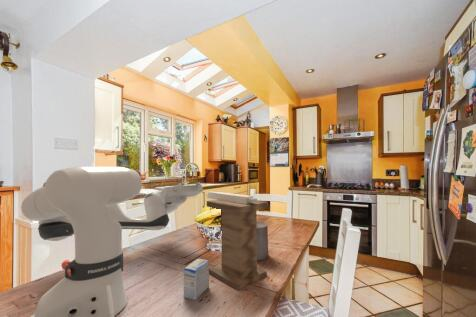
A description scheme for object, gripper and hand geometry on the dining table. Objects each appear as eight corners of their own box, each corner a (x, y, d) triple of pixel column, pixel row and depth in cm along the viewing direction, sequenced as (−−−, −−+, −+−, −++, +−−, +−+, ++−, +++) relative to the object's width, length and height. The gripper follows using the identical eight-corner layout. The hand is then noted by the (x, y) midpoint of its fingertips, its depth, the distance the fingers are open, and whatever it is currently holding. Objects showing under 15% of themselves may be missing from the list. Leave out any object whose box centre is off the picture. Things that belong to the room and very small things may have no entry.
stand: (240, 291, 69) (239, 207, 70) (206, 271, 83) (206, 201, 84) (269, 276, 79) (268, 202, 80) (235, 260, 92) (234, 197, 93)
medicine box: (197, 284, 74) (197, 258, 74) (209, 287, 72) (209, 260, 72) (183, 297, 66) (183, 268, 67) (196, 301, 65) (196, 270, 65)
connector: (250, 205, 74) (250, 197, 74) (205, 197, 93) (205, 191, 93) (258, 203, 76) (258, 196, 76) (212, 196, 96) (212, 191, 96)
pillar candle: (258, 250, 103) (257, 217, 104) (273, 257, 96) (272, 221, 96) (241, 255, 98) (240, 221, 98) (255, 263, 90) (255, 225, 90)
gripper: (196, 199, 119) (210, 188, 111) (159, 204, 105) (172, 192, 97) (193, 189, 122) (206, 177, 113) (157, 192, 108) (168, 179, 99)
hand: (190, 184), depth 105 cm, fingers open, 8 cm apart
